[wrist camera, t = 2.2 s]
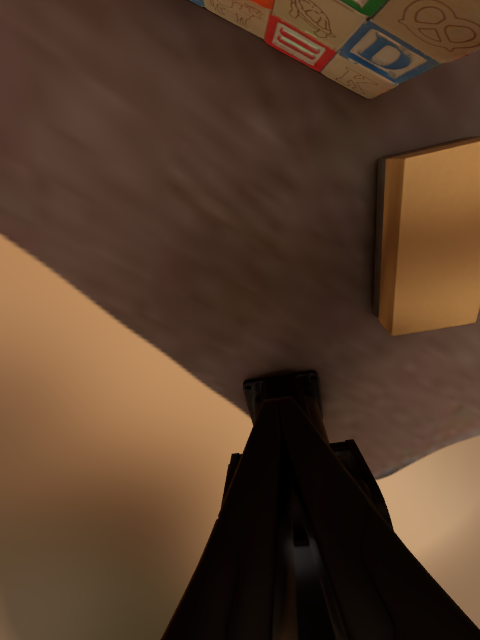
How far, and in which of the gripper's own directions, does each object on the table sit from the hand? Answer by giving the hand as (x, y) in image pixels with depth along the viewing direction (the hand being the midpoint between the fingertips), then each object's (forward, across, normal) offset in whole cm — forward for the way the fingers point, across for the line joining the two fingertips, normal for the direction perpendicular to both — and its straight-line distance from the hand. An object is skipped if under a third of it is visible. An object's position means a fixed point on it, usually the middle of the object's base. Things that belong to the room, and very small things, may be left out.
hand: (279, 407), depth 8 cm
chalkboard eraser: (+12, -10, 0) cm, 16 cm away
